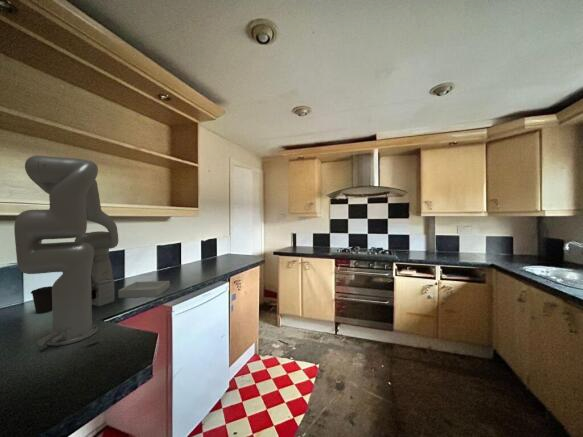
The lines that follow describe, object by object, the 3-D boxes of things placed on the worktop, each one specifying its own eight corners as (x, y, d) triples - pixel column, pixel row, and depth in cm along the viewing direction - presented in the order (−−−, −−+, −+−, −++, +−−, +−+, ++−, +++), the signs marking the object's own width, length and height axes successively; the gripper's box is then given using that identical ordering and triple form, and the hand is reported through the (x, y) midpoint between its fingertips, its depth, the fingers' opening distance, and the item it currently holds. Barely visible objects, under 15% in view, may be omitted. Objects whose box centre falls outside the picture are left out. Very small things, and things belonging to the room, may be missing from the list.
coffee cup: (25, 316, 91) (24, 291, 91) (39, 308, 99) (39, 285, 99) (51, 313, 94) (50, 289, 94) (63, 306, 102) (63, 283, 102)
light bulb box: (84, 303, 104) (83, 280, 104) (100, 298, 111) (100, 276, 111) (99, 306, 101) (98, 282, 101) (115, 301, 107) (115, 278, 107)
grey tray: (156, 297, 112) (156, 289, 112) (118, 298, 111) (118, 290, 111) (169, 288, 126) (169, 280, 126) (136, 288, 125) (136, 281, 125)
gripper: (92, 262, 97) (92, 302, 97) (120, 254, 114) (120, 288, 115) (73, 262, 97) (74, 302, 97) (104, 254, 114) (105, 289, 114)
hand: (99, 294), depth 106 cm, fingers closed on light bulb box, 8 cm apart
